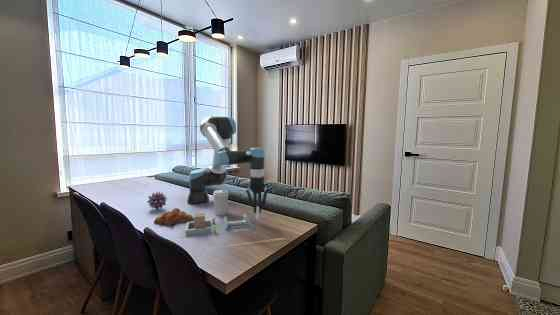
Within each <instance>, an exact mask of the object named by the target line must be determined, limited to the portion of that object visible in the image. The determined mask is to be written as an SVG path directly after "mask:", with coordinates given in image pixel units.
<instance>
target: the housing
mask: <svg viewBox="0 0 560 315" xmlns="http://www.w3.org/2000/svg"><path fill="white" fill-rule="evenodd" d="M241 220H242V219H235V220H233V221H241ZM231 221H232V220H227V222H231ZM246 231H247V232H249V231H255V227H254V225H253V223H252V221H251V219H250V218H247V225H244V226H234V227H228V229H227V230H225V226H224V221H216V217H215V216H213V217H212V218H211V219H207V220H206V219H205V228H197V229H194V221H188V222H186V224H185V225H184V224H183V225H182V226H181V231H180V234H179V239H187V238H195V237H203V236H211V235H220V234H229V233H238V232H246Z"/></svg>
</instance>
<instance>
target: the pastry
mask: <svg viewBox="0 0 560 315" xmlns="http://www.w3.org/2000/svg"><path fill="white" fill-rule="evenodd" d="M187 222H194V216H193V215H191V214H187V212H185V211H184V210H183V211H181V210H180V208H177V207H176V208H173V209H172V210H171V211H164V212H163V213H162V214H161V215H160V216H157V217H156V218H155V219H154V220H153V223H154V224H157V225H164V226H168V227H174V226H175V225H177V224H181V223H182V224H184V223H187Z"/></svg>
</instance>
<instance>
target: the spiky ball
mask: <svg viewBox="0 0 560 315" xmlns="http://www.w3.org/2000/svg"><path fill="white" fill-rule="evenodd" d="M167 201H168V198H167V196H166V195H165V193H164V192H161V191H156V192H152V193H151V195H149V196H148V200H147V202H146V203H148V206H149V208H151V209H154V210H159V209H160V210H161V209H162V208H163V207H164V206H167V204H166V203H167Z"/></svg>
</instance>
